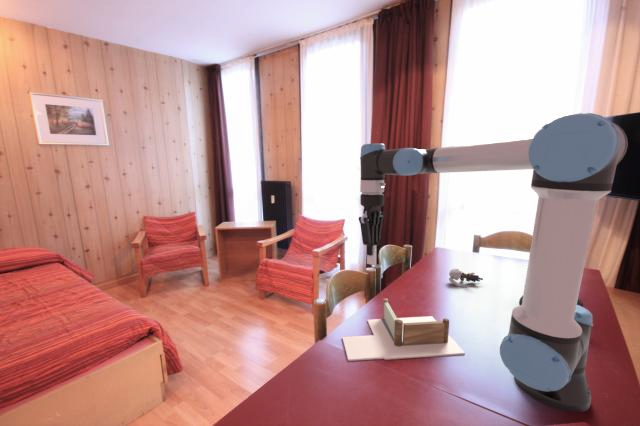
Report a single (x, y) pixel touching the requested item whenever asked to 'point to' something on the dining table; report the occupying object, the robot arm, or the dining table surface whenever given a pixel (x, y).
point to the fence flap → (389, 316)
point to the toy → (462, 277)
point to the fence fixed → (421, 332)
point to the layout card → (384, 347)
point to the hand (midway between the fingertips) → (371, 263)
